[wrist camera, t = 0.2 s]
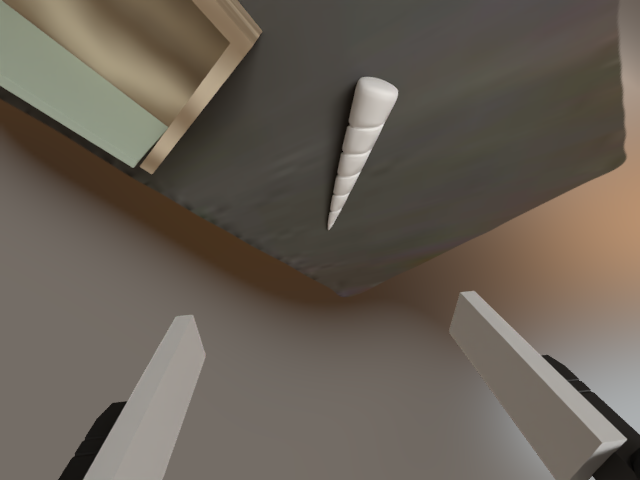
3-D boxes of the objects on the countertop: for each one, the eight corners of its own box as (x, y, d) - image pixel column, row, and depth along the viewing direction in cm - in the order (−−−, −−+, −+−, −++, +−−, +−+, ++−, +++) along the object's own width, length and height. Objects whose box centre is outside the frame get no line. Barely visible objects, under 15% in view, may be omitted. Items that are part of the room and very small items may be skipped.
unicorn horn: (307, 225, 45) (309, 244, 41) (356, 69, 29) (365, 80, 26) (332, 228, 46) (336, 248, 42) (393, 81, 30) (406, 93, 27)
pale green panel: (-121, -93, 18) (-324, -135, 12) (168, 127, 30) (138, 161, 24) (-122, -71, 19) (-316, -100, 13) (161, 136, 31) (130, 171, 25)
